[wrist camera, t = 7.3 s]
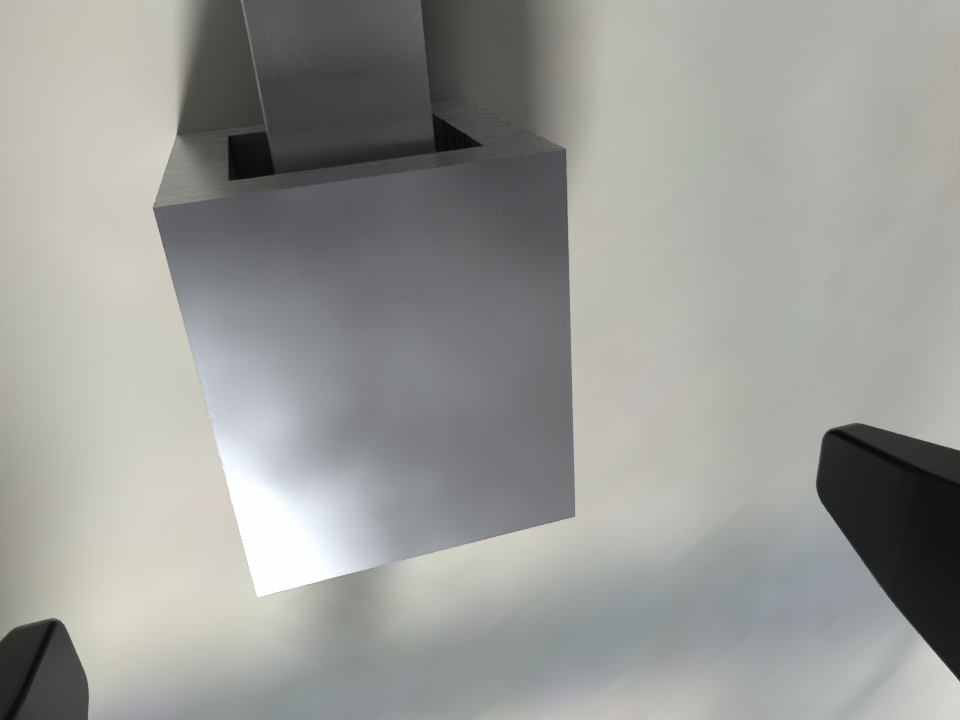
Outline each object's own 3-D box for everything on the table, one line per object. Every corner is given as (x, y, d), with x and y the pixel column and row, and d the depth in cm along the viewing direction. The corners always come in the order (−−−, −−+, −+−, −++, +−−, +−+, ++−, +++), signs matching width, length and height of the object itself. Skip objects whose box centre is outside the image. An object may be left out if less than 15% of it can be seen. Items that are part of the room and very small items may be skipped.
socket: (486, 380, 20) (575, 516, 15) (249, 428, 19) (257, 596, 14) (463, 99, 17) (566, 149, 12) (177, 133, 16) (153, 208, 11)
